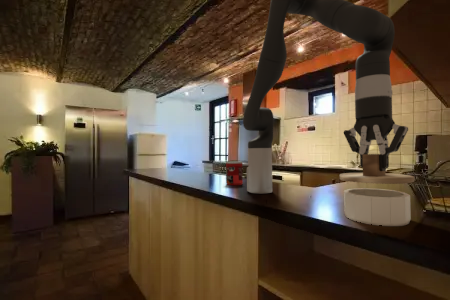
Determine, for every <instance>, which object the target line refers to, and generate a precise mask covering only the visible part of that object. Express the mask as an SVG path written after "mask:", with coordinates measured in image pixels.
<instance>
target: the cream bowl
mask: <svg viewBox="0 0 450 300" xmlns="http://www.w3.org/2000/svg"><path fill="white" fill-rule="evenodd" d="M343 204H344V205H343V208H344V209H343V210H344V216H346V217H345V218H346V219H348V218H349V220H351V221H352V222H353V221H354V222H356V221H357V222H358V223H360V222H361V223H362V224H366V225H371V224H372V226H379V225H382V227H403V226H406V225H409V224H410V221H412V220H411V219H412V218H411V216H412V215H411V214H412V213H411V195H410V194H408V193H407V192H404V191H399V190H394V189H384V188H367V187H363V188H361V187H360V188H357V187H356V188H348V189H344V190H343ZM361 223H360V224H361Z"/></svg>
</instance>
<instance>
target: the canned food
mask: <svg viewBox="0 0 450 300" xmlns="http://www.w3.org/2000/svg"><path fill="white" fill-rule="evenodd" d="M243 177H244V176H243V161H226V162H225V180H226V183H225V184H226V185H227V186H241V185H243V181H244V179H243Z"/></svg>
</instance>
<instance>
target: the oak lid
mask: <svg viewBox="0 0 450 300" xmlns="http://www.w3.org/2000/svg"><path fill="white" fill-rule="evenodd" d="M379 155H380V153H368V154H364V155H363V168H362V172H346V173H345V172H343V173H340V174H339V180H341V181H344V182H350V183H352V182H353V183H361V184H380V185H381V184H382V185H396V184H397V185H400V184H402V185H403V184H412V183H414V182H415V176H414V175H409V174H403V173H390V172H389V173H387V172H386V171H380V170H379Z"/></svg>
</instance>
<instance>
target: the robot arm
mask: <svg viewBox="0 0 450 300" xmlns="http://www.w3.org/2000/svg"><path fill="white" fill-rule="evenodd" d="M287 14H292V15H300V16H307V17H311V18H313V19H315V20H316V21H317V22H318V23H319V24H321V25H322V26H323V27H326V28H328V29H331V30H332V31H334V32H336V33H339V34H342V35H343V36H345V37H347V38H349V39H351V40H353V41H355V42H356V43H360V44H362V45H363V53H362V54H361V55H359V56H358V57H357V58H356V60H355V86H354V87H355V88H354V107H355V108H354V111H355V114H354V115H355V116H354V117H355V123H354V125H353V127H351V128H350V129H344V130H343V135H344V137H345V139H346V142H347V143H348V145H349V147H350V150H351V152H353V153H357V154H358V155H359V158H360V161H359V162H360V163H359V164H360V165H359V166H360V168H362V169H363V155H364V154H370V153H369V151H370V146H371V145H372V141H376V145H378V146H377V147H378V151H379V154H380V155H379V170H380V171H385V172H386V171H387V169H389V166H390V165H389V163H390V162H389V159H390V157H389V155H390V154H391V153H395V152H398V151H399V149H400V147H401V145H402V143H403V142H404V139H405V137H406V135H407V133H408V131H409V127H408V126H406V125H399V124H396V122H395V121H394V119H393V87H392V80H391V65H390V64H391V63H390V62H391V61H390V57H391V53H392V50H393V45H394V40H395V33H396V31H395V25H394V24H395V23H394V22H393V20H392V19H391V18H390V17H389V16H388V15H386V14H384V13H382V12H381V11H379V10H378V9H374V8H371V7H369V6H364V5H360V4H359V5H358V4H355V3H353V2H351V1H349V0H270V6H269V12H268V16H267V25H266V30H265V34H264V40H263V43H262V48H261V52H260V54H259V59H258V62H257V67H256V72H255V75H254V76H255V77H254V80H253V84H252V87H251V91H250V93H249V94H250V95H249V97H248V101H247V103H246V106H245V109H244V112H243V116H242V125H243V128H244V129H245V130H246V131H249V132H258V134H257V136H256V137H254V138H253V139H251V140H249V141H248V142H247V154H248V155H247V159H248V160H247V161H248V166H247V167H246V191H247V192H249V193H251V194H270V193H273V157H272V156H273V152H272V150H273V149H272V146H273V144H272V143H273V140H274V126H275V125H274V123H275V120H274V113H273V111H272V109H271V108H267V107H261V105H262V103H263V101H264V99H265V97H266V96H267V94H268V93H269V92H270V90H272V88H274V86H275V85H276V84H277V83H278V82H279V81H280V78H282V75H283V72H284V68H285V66H286V62H287V57H288V56H287V55H288V54H287V45H286V39H285V33H284V26H285V21H286V17H287ZM392 131H393V134H394V136H393V138H392V140H391V142H390V145H389V140H388V139H389V138H388V135H389V134H390V133H391V132H392ZM357 134H358V135H359V136H360V139H359V142H358V140H357V138H356V136H357Z"/></svg>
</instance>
